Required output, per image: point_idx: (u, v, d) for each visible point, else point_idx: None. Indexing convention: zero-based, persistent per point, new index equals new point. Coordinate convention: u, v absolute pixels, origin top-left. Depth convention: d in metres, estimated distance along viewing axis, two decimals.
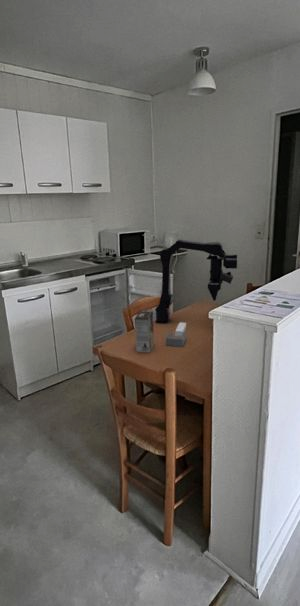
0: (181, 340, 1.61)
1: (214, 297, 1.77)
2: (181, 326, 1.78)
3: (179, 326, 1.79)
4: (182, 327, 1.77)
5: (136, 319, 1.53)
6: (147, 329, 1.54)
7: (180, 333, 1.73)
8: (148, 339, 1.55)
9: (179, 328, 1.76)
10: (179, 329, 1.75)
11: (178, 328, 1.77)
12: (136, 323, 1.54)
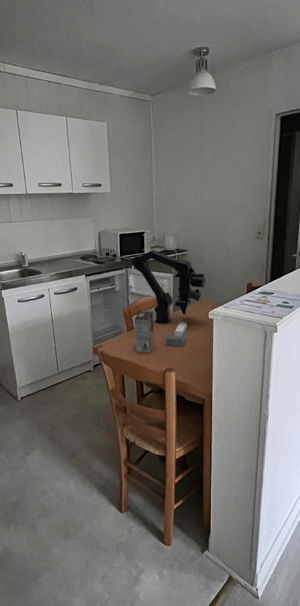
0: (181, 340, 1.61)
1: (184, 311, 1.86)
2: (181, 326, 1.78)
3: (179, 326, 1.79)
4: (182, 327, 1.77)
5: (136, 319, 1.54)
6: (147, 329, 1.54)
7: (180, 333, 1.73)
8: (148, 339, 1.55)
9: (179, 328, 1.76)
10: (179, 329, 1.75)
11: (177, 328, 1.77)
12: (136, 323, 1.54)
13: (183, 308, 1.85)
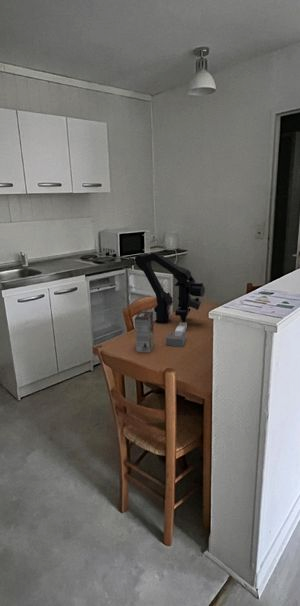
0: (181, 340, 1.61)
1: (184, 320, 1.86)
2: (181, 326, 1.78)
3: (179, 326, 1.79)
4: (182, 327, 1.77)
5: (136, 319, 1.53)
6: (147, 329, 1.54)
7: (179, 333, 1.73)
8: (148, 339, 1.55)
9: (178, 328, 1.76)
10: (179, 329, 1.75)
11: (177, 328, 1.77)
12: (136, 323, 1.54)
13: (183, 317, 1.85)
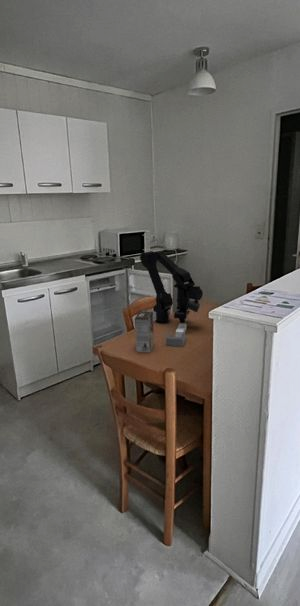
0: (181, 340, 1.61)
1: (182, 322, 1.83)
2: (182, 327, 1.77)
3: (179, 327, 1.77)
4: (182, 328, 1.76)
5: (136, 319, 1.54)
6: (147, 329, 1.54)
7: (180, 334, 1.72)
8: (148, 339, 1.55)
9: (179, 329, 1.74)
10: (180, 329, 1.74)
11: (178, 328, 1.75)
12: (136, 323, 1.54)
13: (182, 319, 1.82)
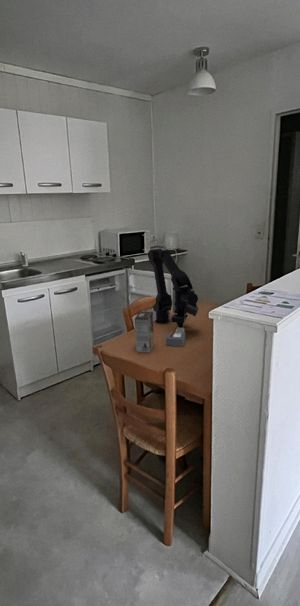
0: (181, 340, 1.61)
1: (180, 327, 1.77)
2: (179, 331, 1.72)
3: (177, 331, 1.72)
4: (180, 332, 1.70)
5: (136, 319, 1.53)
6: (147, 329, 1.54)
7: None
8: (148, 339, 1.55)
9: (176, 334, 1.69)
10: (177, 334, 1.68)
11: (175, 333, 1.70)
12: (136, 323, 1.54)
13: (180, 323, 1.76)
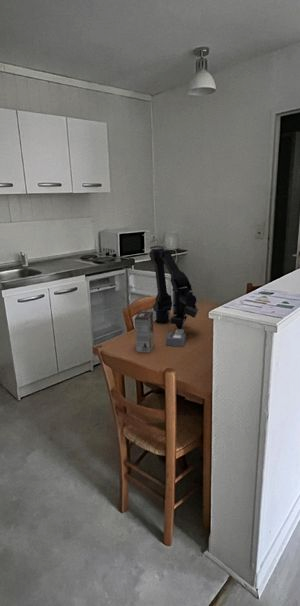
0: (181, 340, 1.61)
1: (180, 328, 1.75)
2: (179, 333, 1.70)
3: (176, 333, 1.70)
4: (179, 334, 1.69)
5: (136, 319, 1.53)
6: (147, 329, 1.54)
7: None
8: (148, 339, 1.55)
9: (176, 336, 1.67)
10: (177, 336, 1.66)
11: (175, 335, 1.68)
12: (136, 323, 1.54)
13: (179, 325, 1.75)
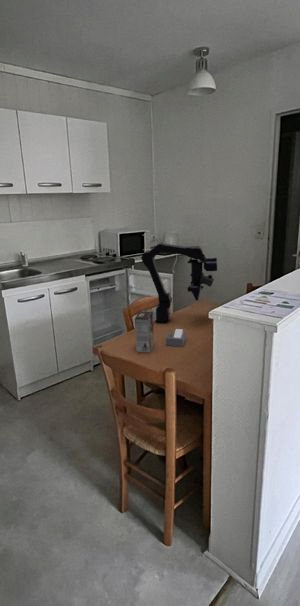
0: (181, 340, 1.61)
1: (196, 297, 1.86)
2: (179, 333, 1.70)
3: (176, 333, 1.70)
4: (179, 334, 1.69)
5: (136, 319, 1.54)
6: (147, 329, 1.54)
7: None
8: (148, 339, 1.55)
9: (176, 336, 1.67)
10: (177, 336, 1.66)
11: (175, 335, 1.68)
12: (136, 323, 1.54)
13: (196, 294, 1.85)
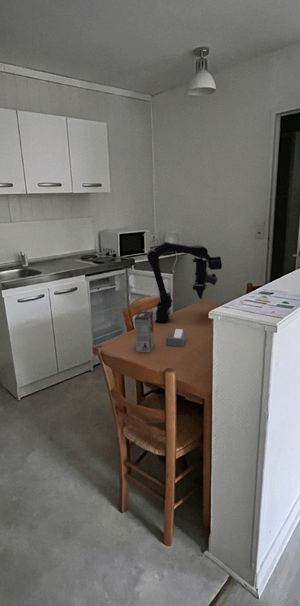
0: (181, 340, 1.61)
1: (200, 295, 1.90)
2: (179, 333, 1.70)
3: (176, 333, 1.70)
4: (179, 334, 1.69)
5: (136, 319, 1.53)
6: (147, 329, 1.54)
7: None
8: (148, 339, 1.55)
9: (176, 336, 1.67)
10: (177, 336, 1.66)
11: (175, 335, 1.68)
12: (136, 323, 1.54)
13: (200, 292, 1.89)
